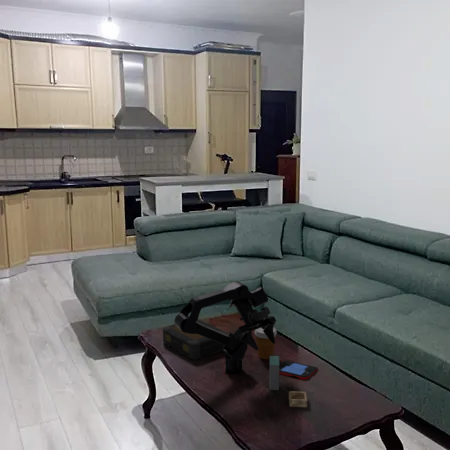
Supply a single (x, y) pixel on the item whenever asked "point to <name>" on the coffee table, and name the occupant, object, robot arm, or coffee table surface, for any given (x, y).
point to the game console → (296, 369)
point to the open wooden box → (297, 399)
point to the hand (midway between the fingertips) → (266, 346)
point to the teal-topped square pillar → (274, 372)
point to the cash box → (191, 341)
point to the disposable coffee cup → (264, 344)
